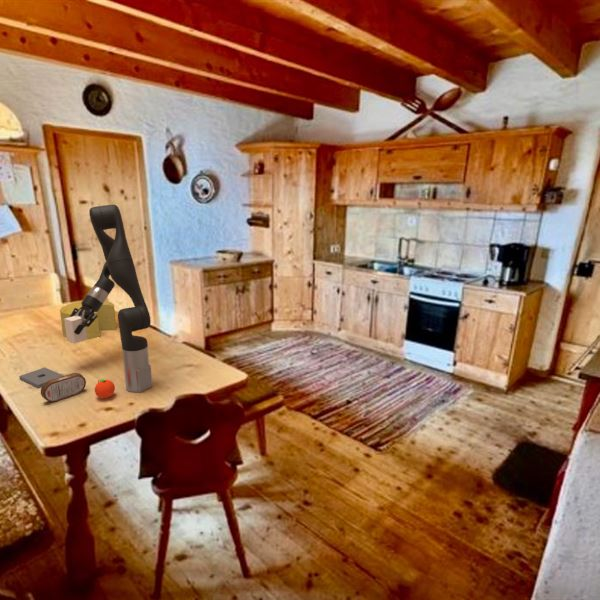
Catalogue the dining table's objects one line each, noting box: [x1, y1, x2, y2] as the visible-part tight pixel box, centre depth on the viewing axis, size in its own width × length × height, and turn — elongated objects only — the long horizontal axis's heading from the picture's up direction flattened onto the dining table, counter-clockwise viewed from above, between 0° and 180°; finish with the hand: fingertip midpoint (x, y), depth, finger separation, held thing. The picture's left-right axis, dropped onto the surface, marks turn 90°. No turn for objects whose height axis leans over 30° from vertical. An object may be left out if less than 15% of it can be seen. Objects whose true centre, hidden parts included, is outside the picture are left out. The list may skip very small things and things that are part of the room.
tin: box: [40, 372, 87, 403], centre depth 147 cm, size 15×3×8 cm, turn 141°
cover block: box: [64, 316, 88, 344], centre depth 166 cm, size 6×6×10 cm
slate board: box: [19, 367, 65, 389], centre depth 161 cm, size 14×10×2 cm
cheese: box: [59, 300, 117, 340], centre depth 215 cm, size 26×26×15 cm
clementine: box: [94, 378, 116, 399], centre depth 149 cm, size 8×7×7 cm
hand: (71, 332), depth 165 cm, fingers closed on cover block, 5 cm apart
